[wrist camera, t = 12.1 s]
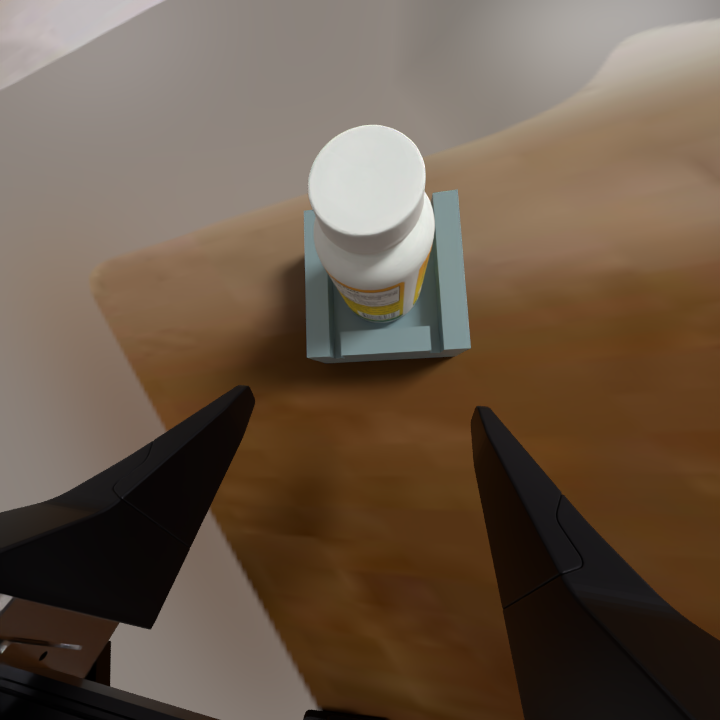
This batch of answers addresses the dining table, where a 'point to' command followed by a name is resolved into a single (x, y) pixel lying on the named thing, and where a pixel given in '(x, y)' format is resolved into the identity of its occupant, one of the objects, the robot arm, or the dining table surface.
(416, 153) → the supplement bottle
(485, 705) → the dining table surface
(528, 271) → the dining table surface
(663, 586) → the dining table surface
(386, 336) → the teal tray
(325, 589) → the dining table surface
